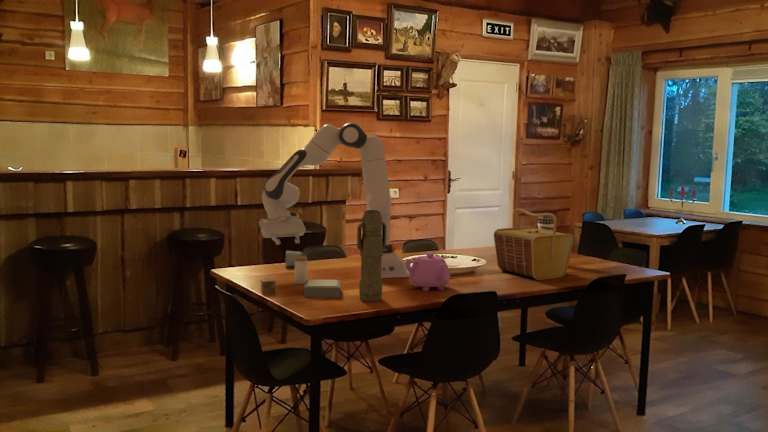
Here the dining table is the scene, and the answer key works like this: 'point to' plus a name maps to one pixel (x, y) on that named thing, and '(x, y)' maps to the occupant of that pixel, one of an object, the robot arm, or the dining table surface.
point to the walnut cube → (268, 286)
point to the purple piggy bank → (428, 272)
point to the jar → (300, 270)
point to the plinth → (322, 288)
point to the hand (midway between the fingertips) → (288, 243)
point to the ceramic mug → (291, 258)
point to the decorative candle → (545, 223)
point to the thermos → (371, 255)
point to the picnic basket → (533, 250)
